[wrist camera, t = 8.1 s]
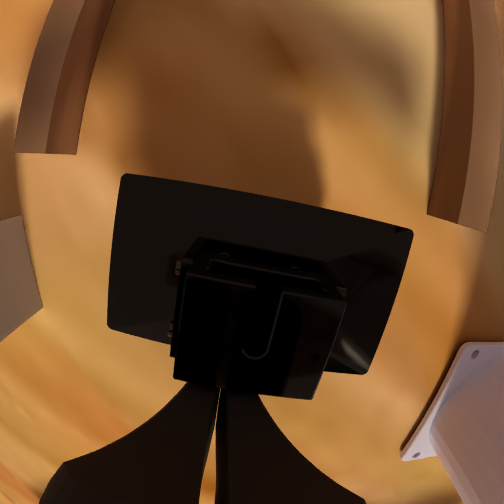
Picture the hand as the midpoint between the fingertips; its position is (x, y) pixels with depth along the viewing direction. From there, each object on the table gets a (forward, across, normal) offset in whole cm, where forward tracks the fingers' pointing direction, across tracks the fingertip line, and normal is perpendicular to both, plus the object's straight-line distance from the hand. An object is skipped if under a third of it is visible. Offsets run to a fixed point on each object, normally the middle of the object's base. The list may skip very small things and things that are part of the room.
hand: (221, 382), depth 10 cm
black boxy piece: (+2, -1, -3) cm, 4 cm away
